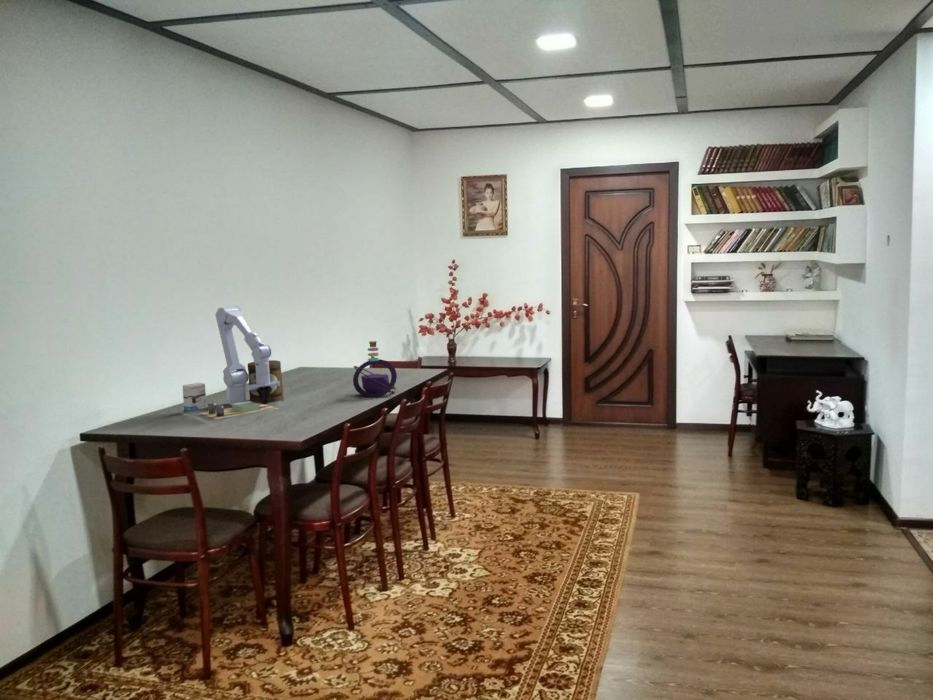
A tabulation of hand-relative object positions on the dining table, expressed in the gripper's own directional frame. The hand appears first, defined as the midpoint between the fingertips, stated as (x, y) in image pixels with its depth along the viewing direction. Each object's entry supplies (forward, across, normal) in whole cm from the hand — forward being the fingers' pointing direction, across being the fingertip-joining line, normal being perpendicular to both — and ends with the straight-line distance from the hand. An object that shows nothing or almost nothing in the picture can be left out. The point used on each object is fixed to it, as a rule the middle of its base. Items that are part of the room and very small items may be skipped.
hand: (264, 404), depth 332 cm
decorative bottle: (+2, +52, -8) cm, 53 cm away
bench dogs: (+2, -22, 0) cm, 22 cm away
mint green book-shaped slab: (+1, -9, 0) cm, 9 cm away
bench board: (+2, -12, 0) cm, 12 cm away
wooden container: (+2, +8, +15) cm, 17 cm away
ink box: (+2, -23, +20) cm, 30 cm away
